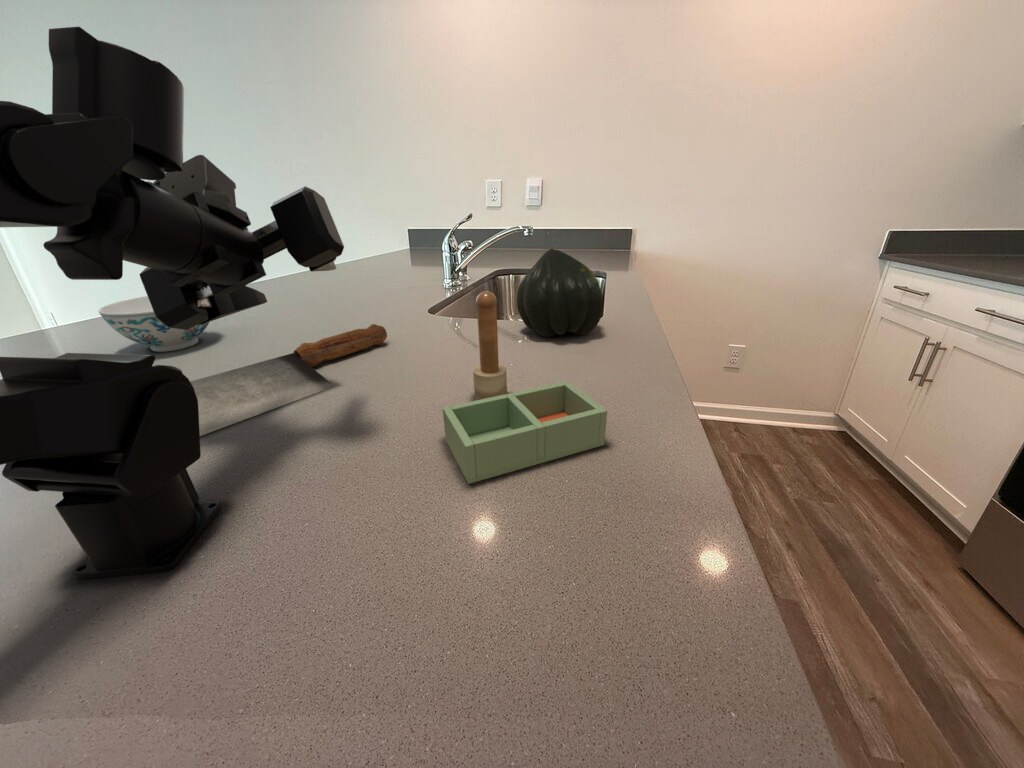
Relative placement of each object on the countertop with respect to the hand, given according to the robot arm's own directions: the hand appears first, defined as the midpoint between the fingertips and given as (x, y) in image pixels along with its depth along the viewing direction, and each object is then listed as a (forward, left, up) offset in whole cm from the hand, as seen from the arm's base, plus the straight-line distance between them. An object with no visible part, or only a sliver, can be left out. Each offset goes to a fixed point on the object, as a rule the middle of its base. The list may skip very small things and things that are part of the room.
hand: (298, 282), depth 46 cm
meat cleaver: (+5, +5, -15) cm, 16 cm away
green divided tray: (-14, -24, -14) cm, 32 cm away
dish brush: (-4, -21, -14) cm, 26 cm away
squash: (+21, -35, -15) cm, 43 cm away
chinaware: (+24, +33, -15) cm, 44 cm away
